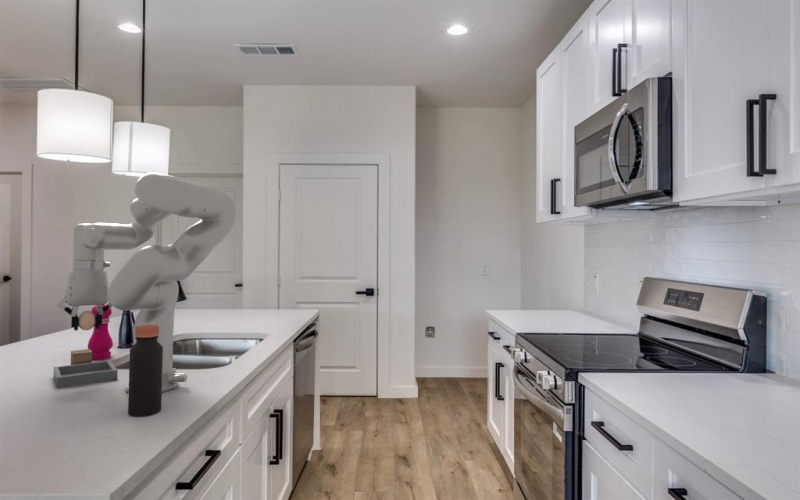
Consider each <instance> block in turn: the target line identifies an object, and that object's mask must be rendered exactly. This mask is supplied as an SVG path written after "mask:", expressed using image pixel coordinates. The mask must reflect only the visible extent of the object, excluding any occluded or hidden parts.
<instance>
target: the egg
mask: <svg viewBox="0 0 800 500" xmlns="http://www.w3.org/2000/svg"><path fill="white" fill-rule="evenodd" d="M95 324H96V317H95V315H94V314H93V313H92V312H91V310H85V311H82V312H81V313H80V314H79V315H78V328H80V329H81V330H82V331H90V330H91V329H94V326H95Z"/></svg>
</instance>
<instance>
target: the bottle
mask: <svg viewBox="0 0 800 500" xmlns="http://www.w3.org/2000/svg"><path fill="white" fill-rule="evenodd" d="M158 335H159V326H158V325H142V326H137V327H135V339H136V343H135V344H134V343H133V345H132V347H130V349H129V361H128V362H129V366H128V367H129V368H128V369H129V370H128V384H129V392H128V395H127V397H128V398H127V399H128V401H127V403H128V405H127V413H128V415H129V416H130V417H134V418H135V417H136V418H141V417H148V416H149V417H150V416H152V415H153V416H154V415H156V414H158V413H160V411H161V410H162V398H163V397H162V396H163V395H162V394H163V392H162V364H163V346H162V345H161V344H160V343H159V342H157V338H158V337H159V336H158Z"/></svg>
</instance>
